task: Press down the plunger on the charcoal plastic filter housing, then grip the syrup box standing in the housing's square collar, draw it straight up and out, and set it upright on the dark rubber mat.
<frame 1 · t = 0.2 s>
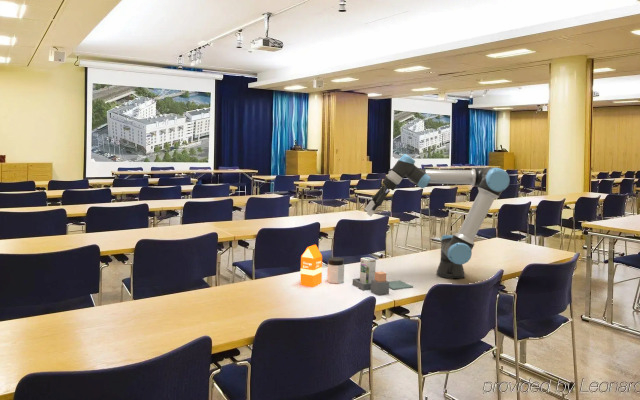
hand: (367, 213, 256), 36 cm above the table, tool tilted 35°, fingers open, 13 cm apart
filter housing: (373, 289, 240), on the table
plunger: (380, 276, 233), point 8 cm above the table, slide at 0.0 cm
syrup box: (367, 286, 245), resting in filter housing
rubber mat: (396, 285, 248), on the table
orange juice: (311, 284, 247), on the table
jar: (335, 281, 253), on the table
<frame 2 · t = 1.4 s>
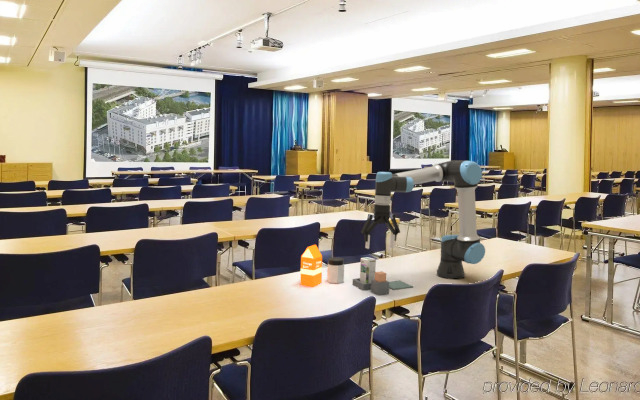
hand: (379, 248, 233), 22 cm above the table, tool pointing down, fingers open, 13 cm apart
nothing on the table moved.
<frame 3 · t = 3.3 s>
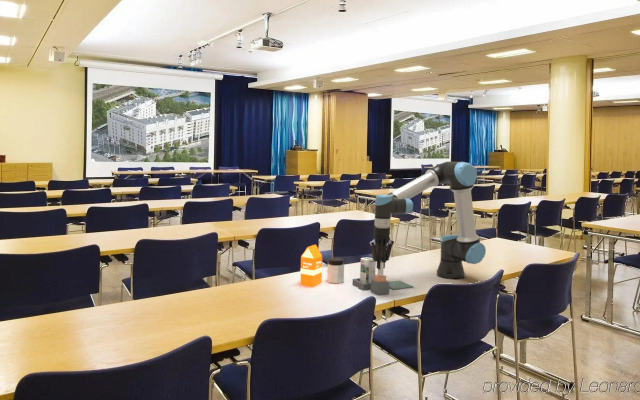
hand: (380, 275, 233), 9 cm above the table, tool pointing down, fingers closed
plunger: (380, 279, 234), point 7 cm above the table, slide at 1.5 cm, touching gripper
everything else where it was.
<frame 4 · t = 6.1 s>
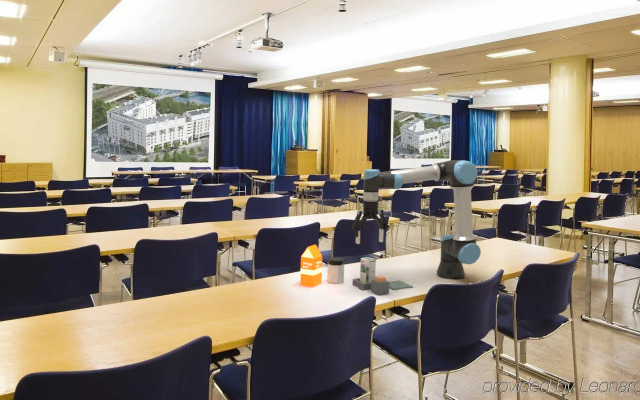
hand: (369, 242, 242), 23 cm above the table, tool pointing down, fingers open, 13 cm apart
plunger: (380, 280, 234), point 6 cm above the table, slide at 2.0 cm
everything else where it was.
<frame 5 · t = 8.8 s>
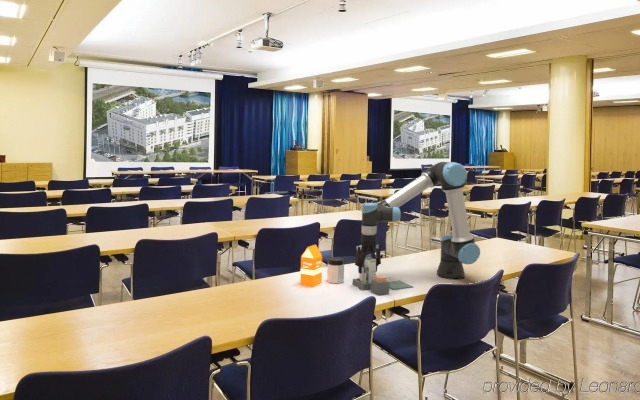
hand: (367, 278, 245), 4 cm above the table, tool pointing down, fingers closed on syrup box, 6 cm apart
syrup box: (367, 286, 245), resting in filter housing, touching gripper
everything else where it was.
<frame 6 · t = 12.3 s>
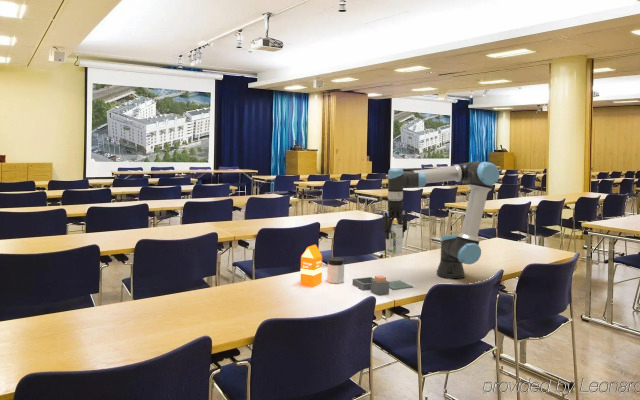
hand: (394, 244, 245), 21 cm above the table, tool pointing down, fingers closed on syrup box, 6 cm apart
syrup box: (394, 252, 246), point 17 cm above the table, touching gripper
everything else where it was.
when the fingers open (6 cm above the table, at t = 15.9 s): syrup box drops 1 cm, resting on rubber mat.
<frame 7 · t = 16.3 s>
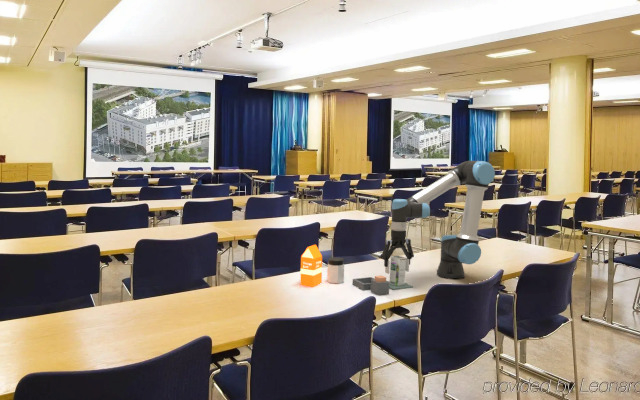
hand: (397, 272, 247), 7 cm above the table, tool pointing down, fingers open, 11 cm apart
syrup box: (396, 284, 248), resting on rubber mat
everything else where it was.
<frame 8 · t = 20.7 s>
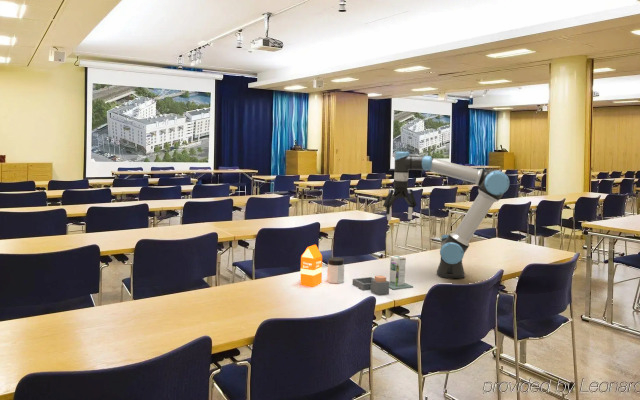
hand: (399, 219, 261), 32 cm above the table, tool pointing down, fingers open, 13 cm apart
nothing on the table moved.
at the end: plunger slide at 2.0 cm; syrup box 0.3 cm off-centre on the rubber mat, point 0.4 cm above the rubber mat's base; syrup box tilted 0° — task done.
